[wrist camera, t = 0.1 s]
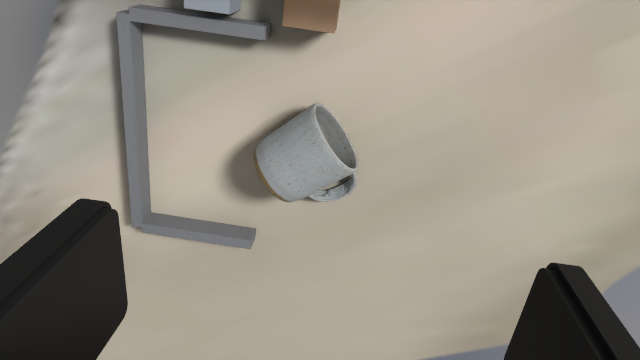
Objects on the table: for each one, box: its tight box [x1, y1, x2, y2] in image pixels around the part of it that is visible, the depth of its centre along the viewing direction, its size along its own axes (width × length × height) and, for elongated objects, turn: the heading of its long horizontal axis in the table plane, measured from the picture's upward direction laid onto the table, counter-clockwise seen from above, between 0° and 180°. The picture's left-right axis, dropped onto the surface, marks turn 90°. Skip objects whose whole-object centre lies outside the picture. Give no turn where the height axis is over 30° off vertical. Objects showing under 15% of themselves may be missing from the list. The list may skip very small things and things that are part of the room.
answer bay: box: [116, 5, 271, 249], centre depth 48 cm, size 24×14×2 cm, turn 173°
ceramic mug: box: [254, 103, 358, 202], centre depth 45 cm, size 11×8×8 cm
